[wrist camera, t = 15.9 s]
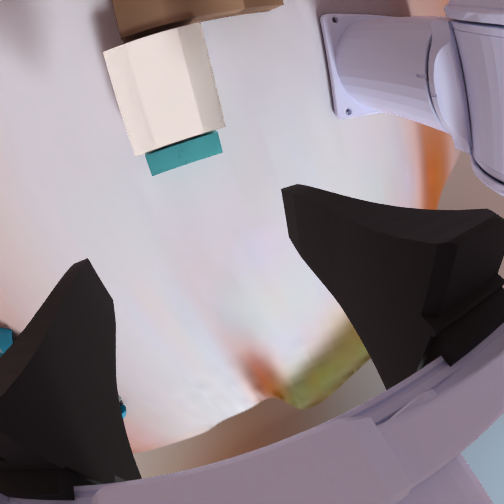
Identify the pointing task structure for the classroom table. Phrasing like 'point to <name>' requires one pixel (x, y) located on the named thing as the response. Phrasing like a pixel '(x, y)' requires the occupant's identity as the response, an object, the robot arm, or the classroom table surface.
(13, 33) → the classroom table surface
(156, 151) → the key
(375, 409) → the robot arm
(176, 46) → the block
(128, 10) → the socket block
